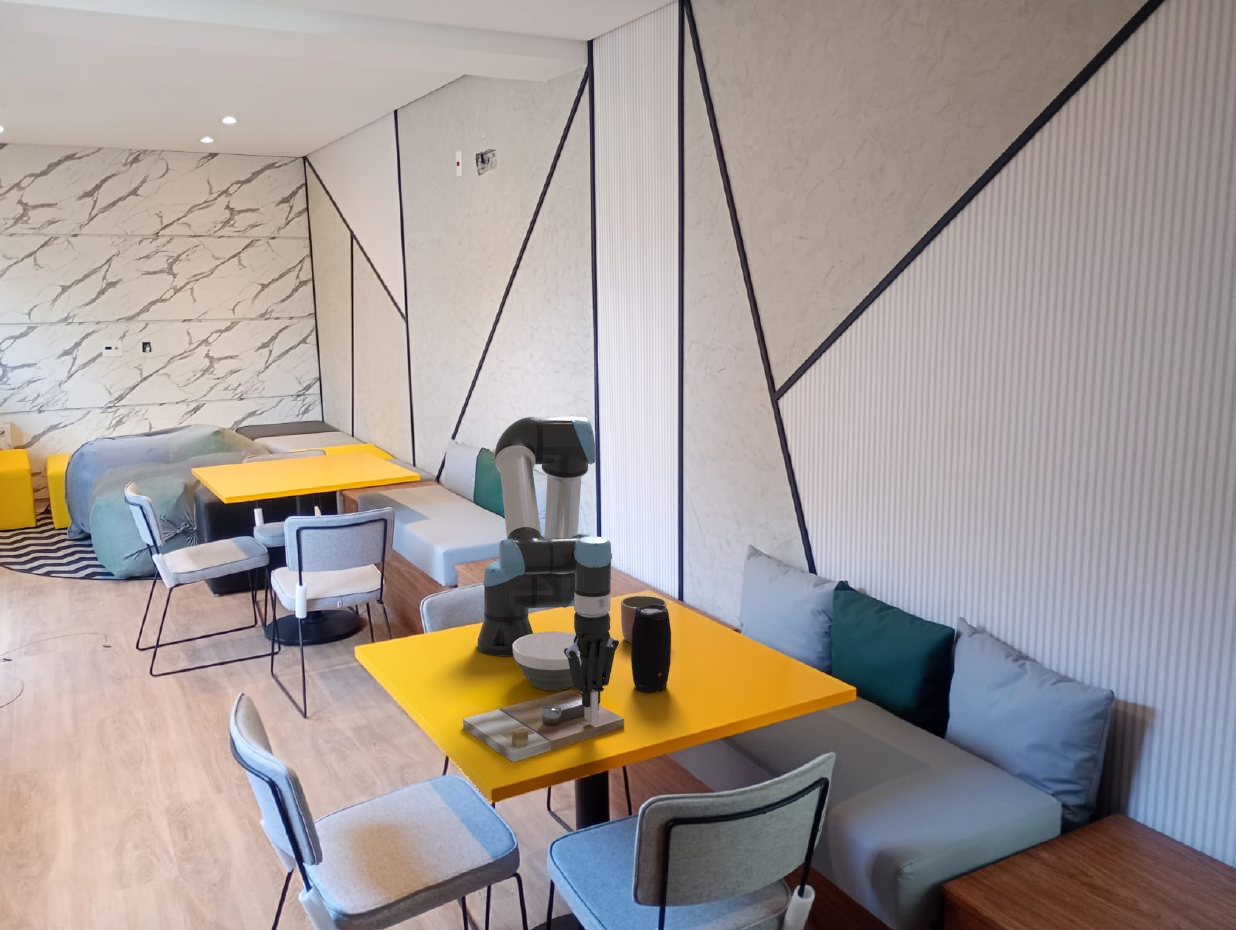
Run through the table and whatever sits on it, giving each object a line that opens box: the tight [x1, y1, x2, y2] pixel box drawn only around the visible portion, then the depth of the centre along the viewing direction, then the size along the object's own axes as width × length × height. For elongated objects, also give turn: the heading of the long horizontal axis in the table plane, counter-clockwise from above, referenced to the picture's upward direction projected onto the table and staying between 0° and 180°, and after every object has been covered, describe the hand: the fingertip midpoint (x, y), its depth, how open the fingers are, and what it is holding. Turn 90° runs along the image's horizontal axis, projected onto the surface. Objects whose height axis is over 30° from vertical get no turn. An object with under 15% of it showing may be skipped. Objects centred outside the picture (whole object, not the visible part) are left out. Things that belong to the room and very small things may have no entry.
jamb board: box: [462, 688, 625, 763], centre depth 207 cm, size 20×28×5 cm
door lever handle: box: [542, 699, 600, 726], centre depth 207 cm, size 14×4×3 cm, turn 128°
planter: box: [620, 595, 667, 644], centre depth 263 cm, size 12×12×11 cm
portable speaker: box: [630, 604, 672, 694], centre depth 229 cm, size 9×9×20 cm
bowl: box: [513, 631, 581, 692], centre depth 232 cm, size 20×20×10 cm
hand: (590, 719), depth 204 cm, fingers closed
